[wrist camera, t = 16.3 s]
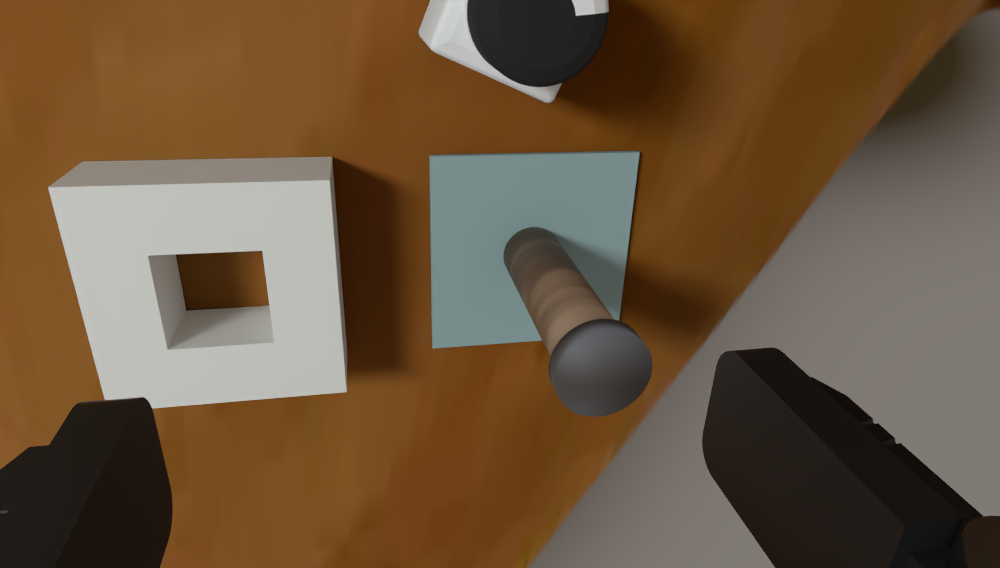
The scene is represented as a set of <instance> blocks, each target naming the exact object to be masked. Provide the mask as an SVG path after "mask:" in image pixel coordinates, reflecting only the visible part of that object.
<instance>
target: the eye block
mask: <svg viewBox="0 0 1000 568" xmlns="http://www.w3.org/2000/svg"><path fill="white" fill-rule="evenodd" d="M48 189H49V193H50V196H51V200H52V204H53V208H54V211H55V215H56V219H57V223H58V226H59V230H60V234H61V238H62V241H63V245H64V249H65V252H66V256H67V260H68V264H69V267H70V271H71V275H72V279H73V282H74V286H75V290H76V294H77V297H78V301H79V305H80V309H81V312H82V316H83V320H84V323H85V327H86V331H87V335H88V338H89V342H90V346H91V350H92V353H93V357H94V361H95V365H96V368H97V372H98V376H99V379H100V383H101V387H102V391H103V394H104V398H105V400H114V399H127V398H139V397H144V398H146V399H147V400H148V401H149V403H150V405H151V407H152V408H163V407H175V406H186V405H198V404H210V403H222V402H234V401H246V400H258V399H270V398H282V397H294V396H305V395H317V394H329V393H341V392H347V343H346V330H345V317H344V304H343V291H342V278H341V265H340V252H339V239H338V226H337V214H336V201H335V188H334V175H333V162H332V157H293V158H241V159H189V160H137V161H85V162H82V163H80V164H79V165H78V166H76V167H75V168H74V169H72V170H71V171H70V172H68V173H67V174H65V175H64V176H63V177H61V178H60V179H59V180H57V181H56V182H55V183H53V184H52V185H51V186H49V187H48ZM243 251H262V252H263V260H264V267H265V275H266V283H267V290H268V298H269V305H270V306H255V307H238V308H221V309H204V310H187V311H186V306H185V301H184V296H183V290H182V285H181V280H180V275H179V270H178V264H177V259H176V254H198V253H220V252H243Z"/></svg>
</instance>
